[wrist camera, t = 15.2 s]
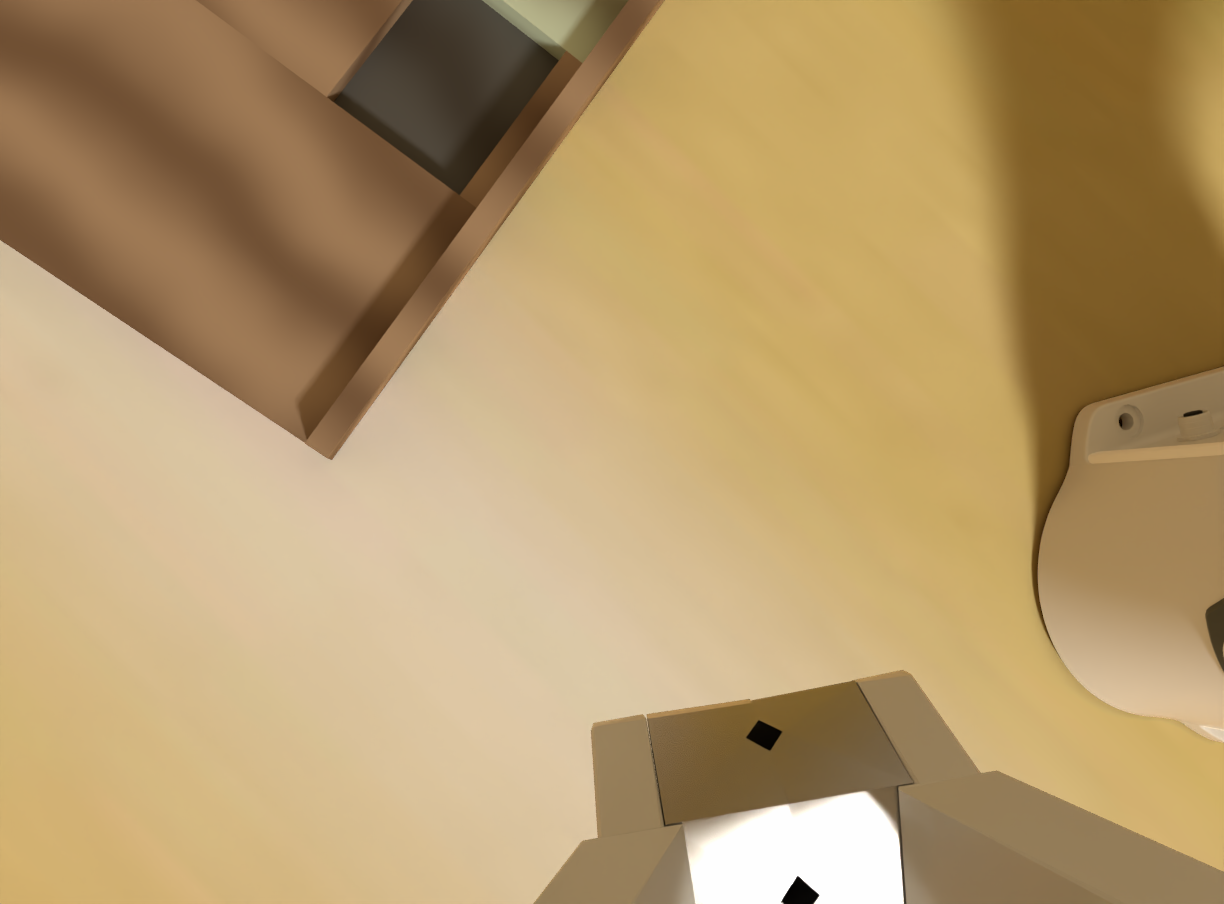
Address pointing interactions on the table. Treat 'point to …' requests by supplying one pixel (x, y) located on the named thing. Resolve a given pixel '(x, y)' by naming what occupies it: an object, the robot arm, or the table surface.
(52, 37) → the tray
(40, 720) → the table surface
